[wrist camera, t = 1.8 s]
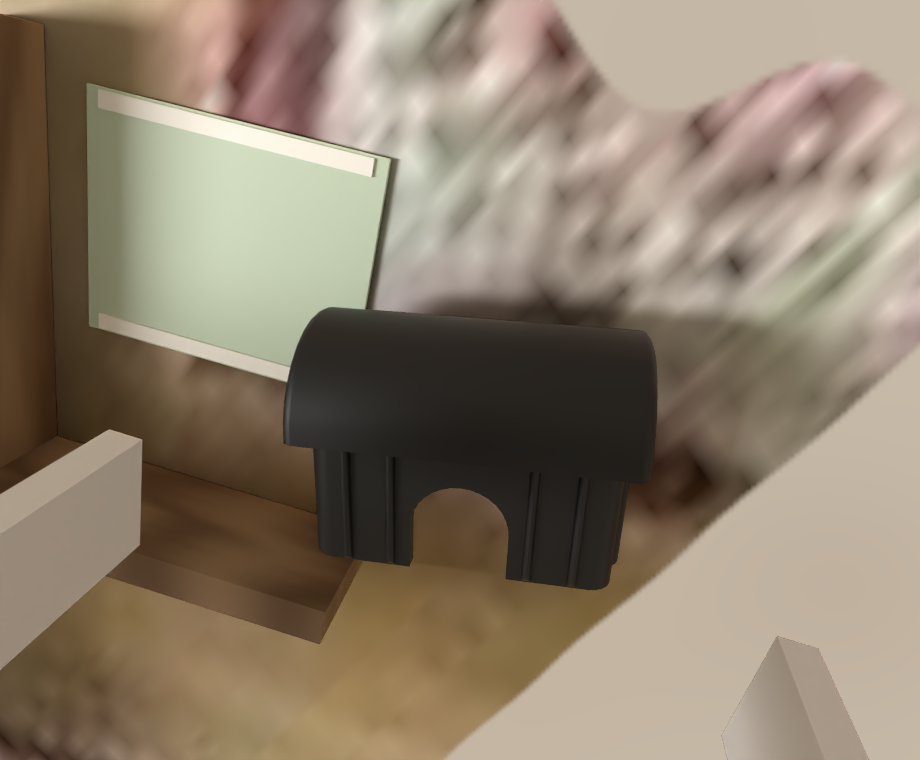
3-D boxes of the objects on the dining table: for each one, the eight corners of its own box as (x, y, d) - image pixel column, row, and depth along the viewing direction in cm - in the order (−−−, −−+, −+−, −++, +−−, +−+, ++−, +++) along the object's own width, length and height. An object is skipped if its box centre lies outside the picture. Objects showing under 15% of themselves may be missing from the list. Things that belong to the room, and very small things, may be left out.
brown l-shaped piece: (27, 455, 28) (-80, 516, 24) (3, 14, 21) (-155, -22, 17) (363, 558, 27) (319, 644, 22) (451, 123, 20) (414, 117, 15)
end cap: (638, 303, 21) (671, 372, 15) (612, 486, 24) (630, 610, 17) (353, 283, 22) (271, 338, 16) (357, 458, 25) (289, 564, 19)
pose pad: (92, 324, 25) (86, 326, 25) (90, 83, 22) (84, 82, 21) (350, 398, 24) (348, 401, 24) (391, 159, 21) (389, 159, 20)
